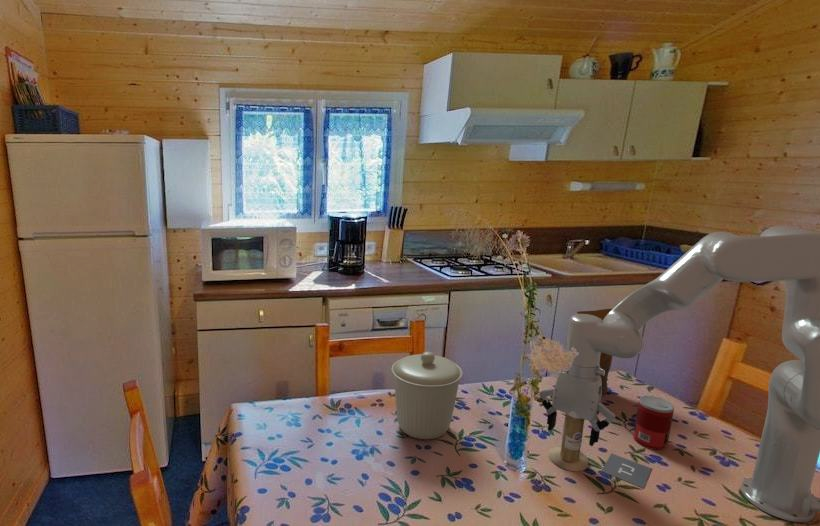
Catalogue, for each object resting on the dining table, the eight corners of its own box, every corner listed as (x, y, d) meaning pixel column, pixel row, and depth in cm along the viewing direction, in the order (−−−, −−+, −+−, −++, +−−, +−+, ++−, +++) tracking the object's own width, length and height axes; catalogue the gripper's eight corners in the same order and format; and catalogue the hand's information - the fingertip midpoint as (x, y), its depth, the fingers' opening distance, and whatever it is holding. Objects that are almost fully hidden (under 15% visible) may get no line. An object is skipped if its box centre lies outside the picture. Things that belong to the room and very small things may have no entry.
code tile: (651, 468, 110) (651, 468, 110) (643, 488, 103) (643, 488, 103) (611, 453, 115) (611, 453, 115) (601, 471, 108) (601, 470, 108)
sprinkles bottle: (569, 465, 109) (576, 412, 106) (555, 454, 113) (561, 403, 110) (583, 460, 111) (591, 409, 108) (569, 450, 115) (576, 399, 112)
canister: (471, 439, 118) (478, 361, 114) (406, 455, 110) (411, 372, 106) (437, 405, 134) (441, 336, 130) (378, 417, 126) (381, 343, 122)
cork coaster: (593, 458, 113) (593, 456, 113) (581, 476, 106) (581, 474, 106) (556, 443, 118) (556, 441, 118) (543, 460, 111) (543, 458, 111)
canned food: (671, 452, 117) (678, 412, 115) (637, 447, 119) (643, 407, 116) (661, 435, 124) (668, 397, 122) (629, 431, 126) (635, 393, 124)
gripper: (624, 374, 105) (613, 442, 109) (549, 353, 115) (542, 416, 119) (616, 385, 99) (605, 457, 103) (538, 362, 109) (530, 428, 113)
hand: (571, 435), depth 111 cm, fingers open, 9 cm apart
